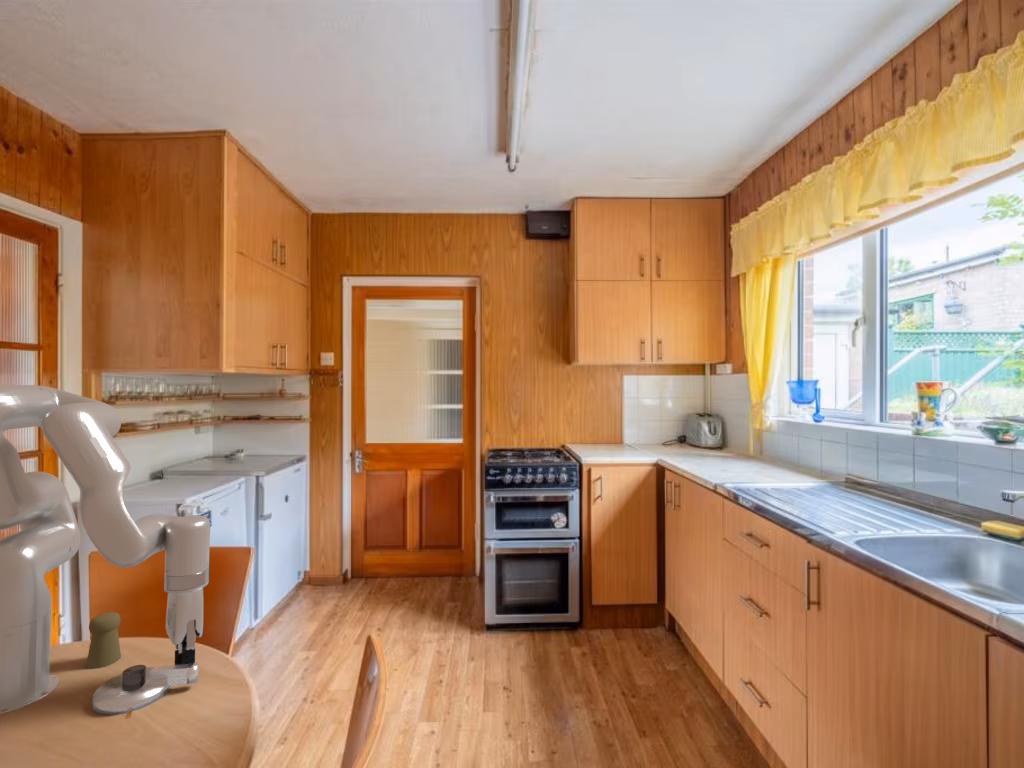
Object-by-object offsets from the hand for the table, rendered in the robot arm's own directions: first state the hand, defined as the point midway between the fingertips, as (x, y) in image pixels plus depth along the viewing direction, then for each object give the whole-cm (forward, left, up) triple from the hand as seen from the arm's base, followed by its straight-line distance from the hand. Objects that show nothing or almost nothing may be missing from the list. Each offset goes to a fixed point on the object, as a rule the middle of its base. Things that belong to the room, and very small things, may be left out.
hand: (184, 668), depth 98 cm
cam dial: (-4, -4, -2) cm, 6 cm away
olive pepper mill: (-21, +6, -3) cm, 22 cm away
